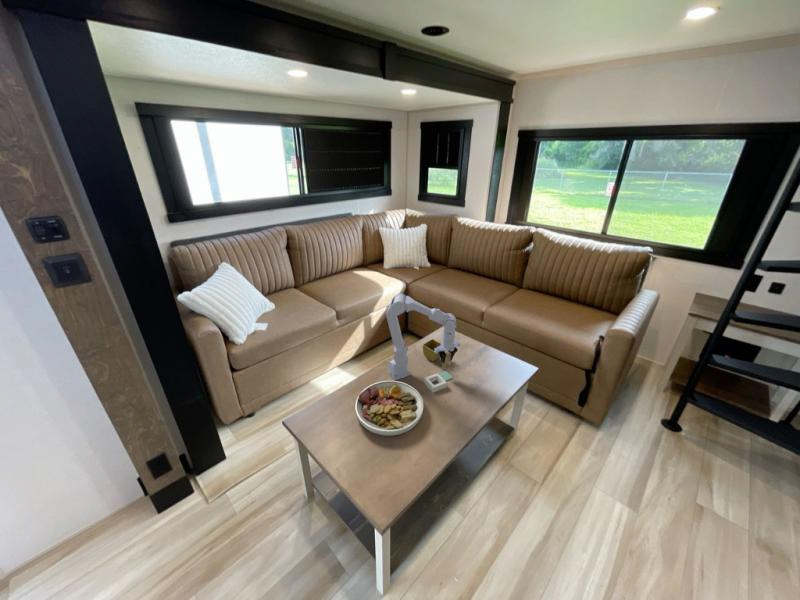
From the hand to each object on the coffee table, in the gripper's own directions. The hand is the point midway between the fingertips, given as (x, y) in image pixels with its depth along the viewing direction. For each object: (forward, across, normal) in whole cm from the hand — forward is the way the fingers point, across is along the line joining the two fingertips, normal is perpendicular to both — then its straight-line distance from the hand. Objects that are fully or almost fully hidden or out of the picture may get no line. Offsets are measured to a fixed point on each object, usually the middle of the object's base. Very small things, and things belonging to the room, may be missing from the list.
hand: (446, 360), depth 155 cm
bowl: (+11, -36, -8) cm, 38 cm away
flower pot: (+10, +3, +16) cm, 19 cm away
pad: (+10, 0, 0) cm, 10 cm away
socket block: (+10, -8, -3) cm, 13 cm away
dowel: (+4, 0, 0) cm, 4 cm away
